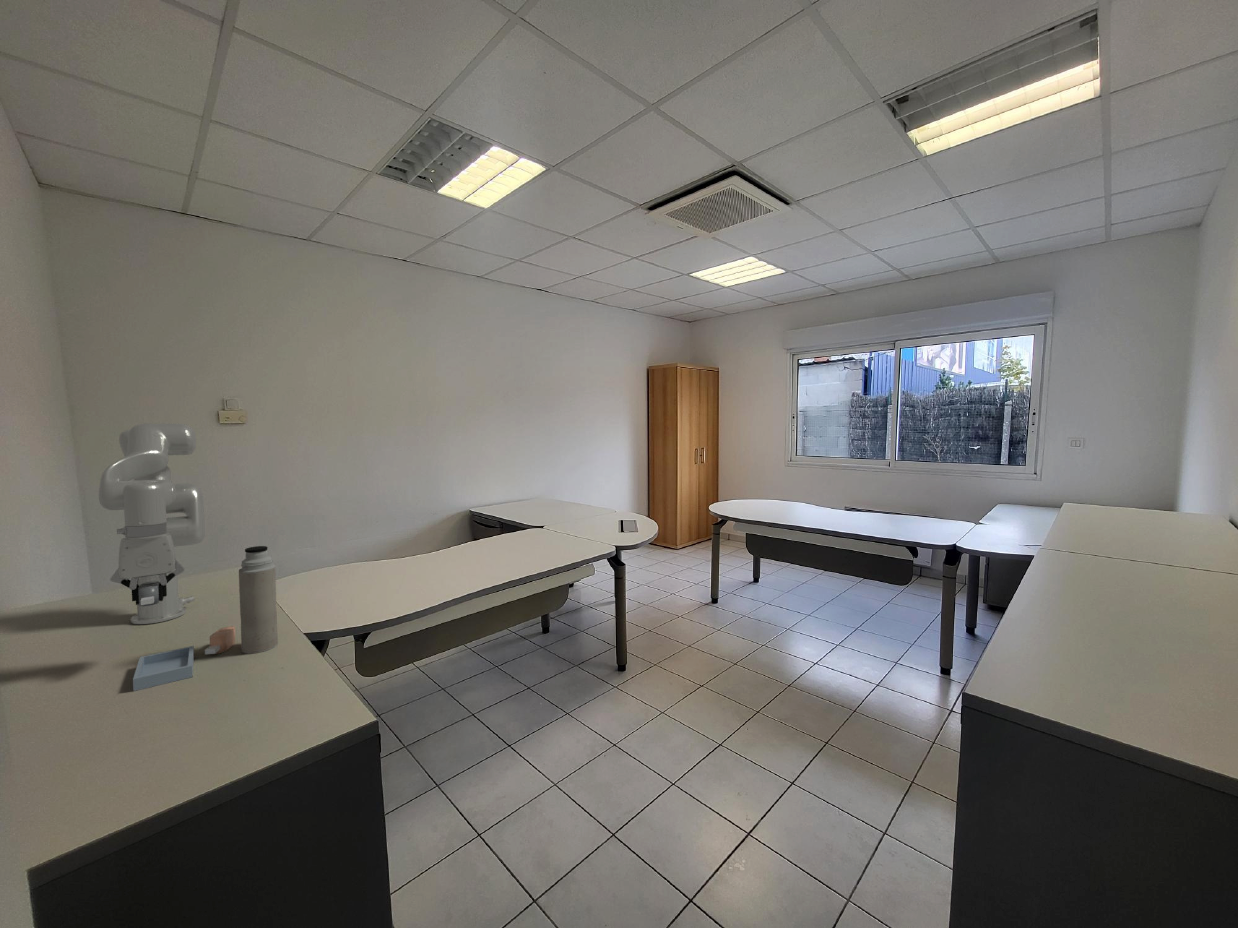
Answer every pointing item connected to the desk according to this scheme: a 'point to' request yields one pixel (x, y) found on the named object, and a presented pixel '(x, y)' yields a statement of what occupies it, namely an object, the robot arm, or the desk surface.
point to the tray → (164, 668)
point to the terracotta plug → (221, 640)
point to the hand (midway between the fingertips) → (150, 600)
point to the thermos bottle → (258, 601)
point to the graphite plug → (148, 593)
